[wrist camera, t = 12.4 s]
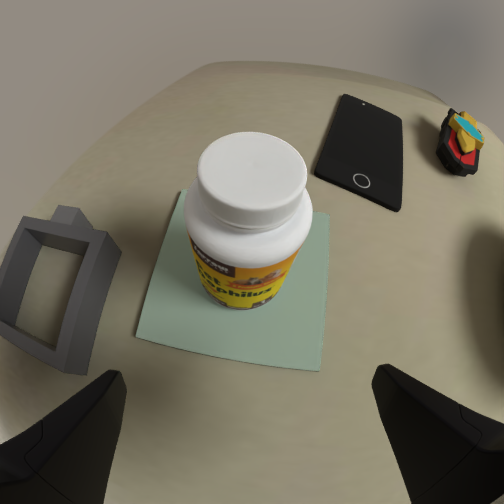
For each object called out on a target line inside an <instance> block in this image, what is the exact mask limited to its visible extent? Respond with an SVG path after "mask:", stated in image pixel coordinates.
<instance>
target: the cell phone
mask: <svg viewBox="0 0 504 504" xmlns="http://www.w3.org/2000/svg"><path fill="white" fill-rule="evenodd" d="M314 175H315V176H316V177H318V178H320V179H322V180H325V181H327V182H329V183H332V184H334V185H336V186H339V187H341V188H343V189H346V190H348V191H350V192H353V193H355V194H357V195H359V196H362V197H364V198H366V199H368V200H370V201H372V202H374V203H377V204H379V205H381V206H383V207H385V208H387V209H389V210H391V211H394V212H398V211H399V210H400V209H401V204H402V185H403V135H402V120H401V118H399V117H398V116H396V115H394V114H392V113H390V112H388V111H385V110H383V109H381V108H379V107H377V106H374V105H372V104H370V103H368V102H365V101H363V100H360V99H358V98H356V97H353V96H350V95H348V94H343V96H342V98H341V101H340V104H339V107H338V110H337V112H336V115H335V118H334V121H333V123H332V126H331V129H330V131H329V134H328V137H327V140H326V142H325V145H324V147H323V150H322V153H321V155H320V158H319V161H318V163H317V166H316V168H315V171H314Z"/></svg>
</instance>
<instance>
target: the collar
mask: <svg viewBox="0 0 504 504" xmlns="http://www.w3.org/2000/svg"><path fill="white" fill-rule="evenodd" d="M92 228H93V226H92V225H91V224H90V222H89V221H88V220H87V218H86V217H85V215H84V214H83V213H82V211H81V210H80V208H76V207H69V206H62V205H58V207H57V209H56V211H55V212H54V214H53V216H52V218H51V220H50V221H47V220H42V219H37V218H32V217H26V216H23V217H22V219H21V221H20V223H19V225H18V227H17V230H16V232H15V234H14V236H13V238H12V240H11V243H10V245H9V247H8V250H7V252H6V255H5V257H4V260H3V262H2V265H1V268H0V335H1V336H2V337H4V338H5V339H7V340H8V341H10V342H11V343H13V344H14V345H16V346H17V347H19V348H21V349H22V350H24V351H25V352H27V353H29V354H30V355H32V356H34V357H36V358H37V359H39V360H41V361H43V362H44V363H46V364H48V365H50V366H52V367H54V368H56V369H58V370H60V371H62V372H64V373H70V374H78V375H87V371H88V366H89V361H90V357H91V352H92V348H93V344H94V340H95V336H96V332H97V328H98V324H99V320H100V317H101V313H102V310H103V306H104V303H105V300H106V296H107V293H108V290H109V287H110V284H111V281H112V278H113V275H114V272H115V269H116V266H117V263H118V260H119V258H120V255H121V250H120V249H119V248H118V246H117V245H116V244H115V242H114V241H113V239H112V238H111V237H110V235H109V234H108V232H105V231H100V230H95V229H92ZM42 245H44V246H48V247H52V248H56V249H59V250H63V251H67V252H71V253H75V254H79V255H83V256H84V259H83V262H82V264H81V267H80V270H79V272H78V275H77V278H76V281H75V284H74V287H73V290H72V293H71V296H70V299H69V302H68V305H67V309H66V312H65V315H64V319H63V323H62V326H61V330H60V334H59V338H58V342H57V347H54V346H52V345H50V344H48V343H46V342H44V341H42V340H40V339H38V338H36V337H35V336H33V335H31V334H29V333H27V332H25V331H24V330H22V329H20V328H19V327H17V326H15V323H16V319H17V315H18V311H19V308H20V304H21V301H22V298H23V295H24V292H25V289H26V286H27V283H28V280H29V277H30V274H31V271H32V269H33V266H34V264H35V261H36V258H37V256H38V254H39V251H40V249H41V246H42Z"/></svg>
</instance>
